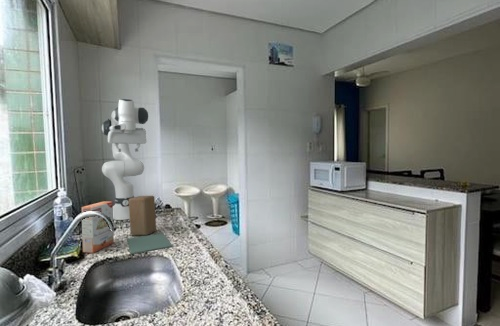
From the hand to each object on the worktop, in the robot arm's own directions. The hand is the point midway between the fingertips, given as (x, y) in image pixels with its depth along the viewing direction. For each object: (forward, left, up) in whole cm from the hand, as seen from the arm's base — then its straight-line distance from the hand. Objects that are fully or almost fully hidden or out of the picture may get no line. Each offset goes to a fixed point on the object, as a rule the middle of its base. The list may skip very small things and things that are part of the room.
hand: (128, 151), depth 151 cm
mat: (+30, +5, -45) cm, 54 cm away
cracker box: (+24, -16, -45) cm, 54 cm away
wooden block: (+13, +5, -45) cm, 47 cm away
